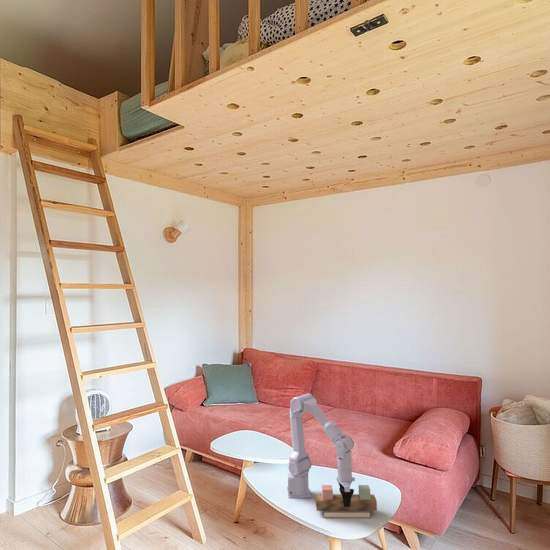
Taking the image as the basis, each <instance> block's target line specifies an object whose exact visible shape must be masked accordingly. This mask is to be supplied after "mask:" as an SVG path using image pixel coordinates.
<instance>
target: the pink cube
mask: <svg viewBox="0 0 550 550" xmlns="http://www.w3.org/2000/svg"><path fill="white" fill-rule="evenodd" d="M321 494H322V497H323V500H333V494H334V490H333V486H332V484H322V485H321Z"/></svg>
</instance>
